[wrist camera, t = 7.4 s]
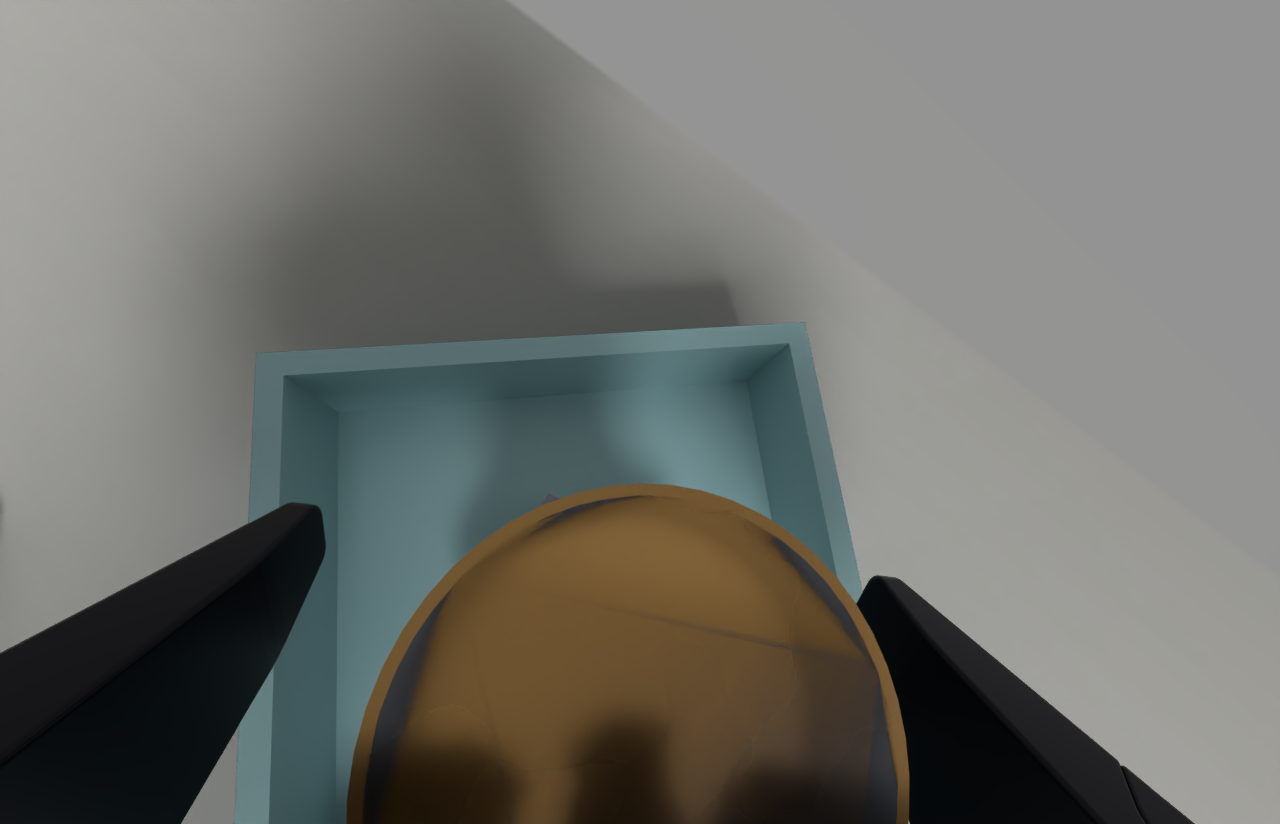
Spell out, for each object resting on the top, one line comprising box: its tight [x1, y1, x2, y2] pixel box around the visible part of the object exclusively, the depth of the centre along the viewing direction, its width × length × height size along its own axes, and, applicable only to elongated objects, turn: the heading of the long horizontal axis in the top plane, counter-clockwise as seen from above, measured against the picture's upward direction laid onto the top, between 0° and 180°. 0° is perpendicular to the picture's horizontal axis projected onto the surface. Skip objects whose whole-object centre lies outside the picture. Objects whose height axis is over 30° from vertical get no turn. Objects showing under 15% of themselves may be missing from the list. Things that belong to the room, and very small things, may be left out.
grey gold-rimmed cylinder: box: [346, 483, 909, 824], centre depth 10 cm, size 4×4×12 cm
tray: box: [234, 322, 910, 824], centre depth 14 cm, size 14×14×4 cm
